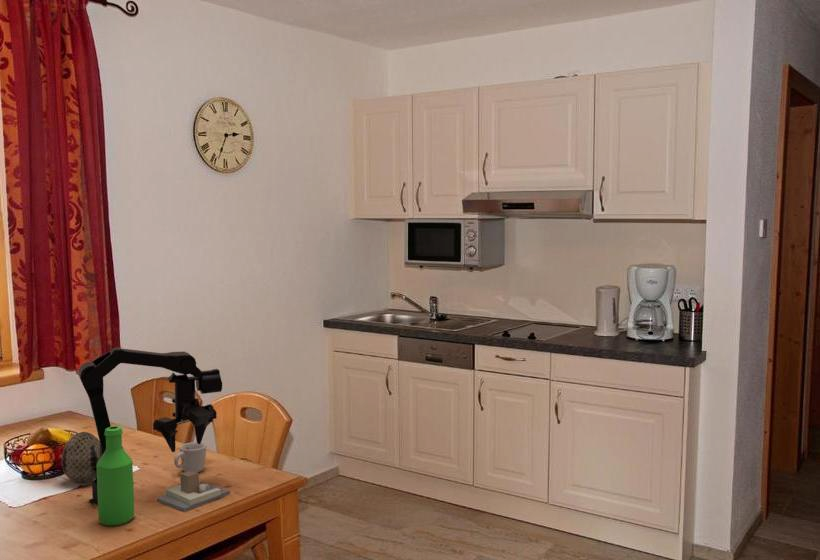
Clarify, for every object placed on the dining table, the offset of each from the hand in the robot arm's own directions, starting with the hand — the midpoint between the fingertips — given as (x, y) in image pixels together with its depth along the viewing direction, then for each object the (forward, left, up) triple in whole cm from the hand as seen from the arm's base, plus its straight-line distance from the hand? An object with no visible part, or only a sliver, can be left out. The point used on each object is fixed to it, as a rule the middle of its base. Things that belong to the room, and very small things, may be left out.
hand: (186, 447), depth 223 cm
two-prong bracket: (-4, -8, -11) cm, 14 cm away
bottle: (-26, -4, -12) cm, 29 cm away
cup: (+9, +10, -12) cm, 18 cm away
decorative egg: (-15, +29, -12) cm, 35 cm away
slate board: (-4, -8, -12) cm, 15 cm away
